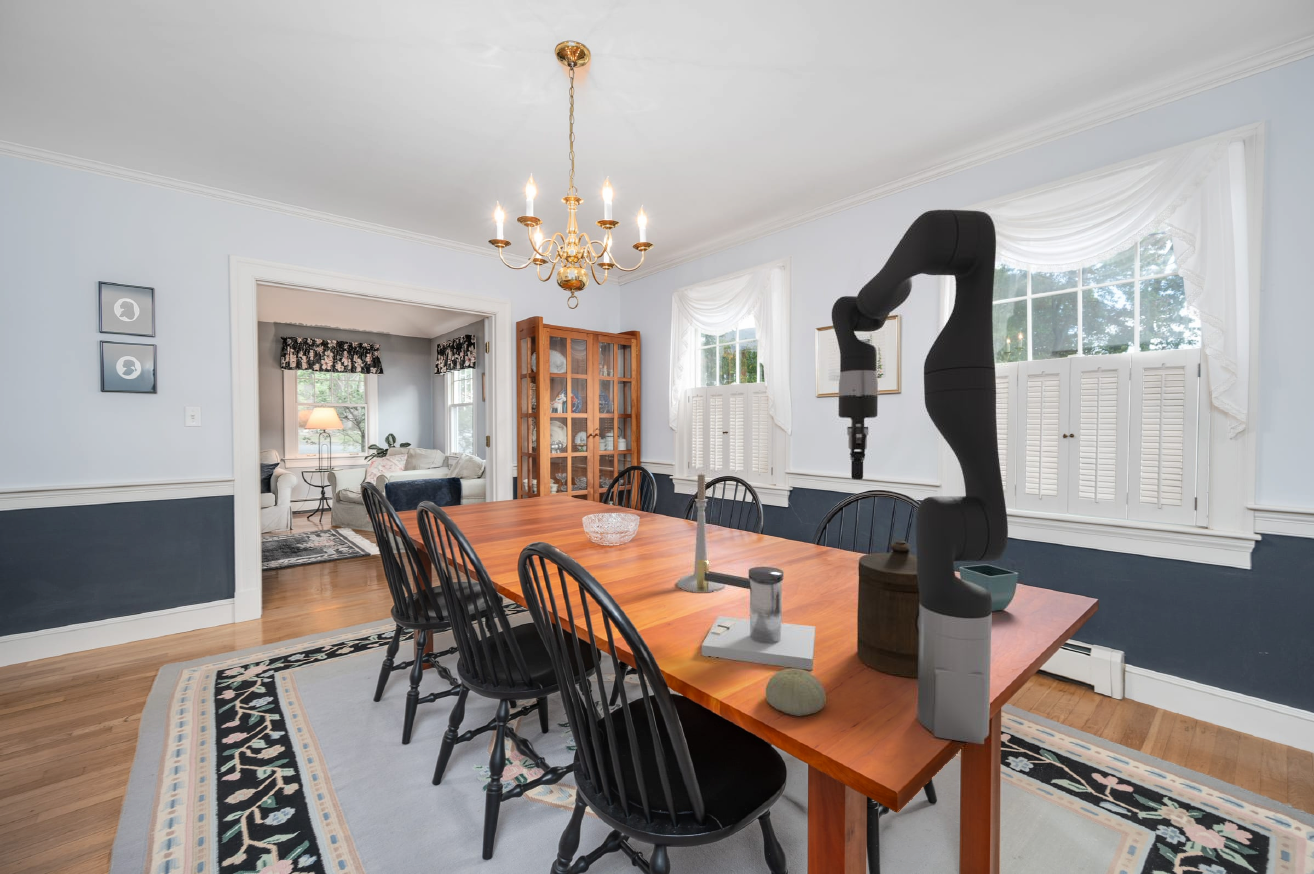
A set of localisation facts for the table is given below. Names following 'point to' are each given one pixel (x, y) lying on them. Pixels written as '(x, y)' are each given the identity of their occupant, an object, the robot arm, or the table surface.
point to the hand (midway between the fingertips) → (857, 479)
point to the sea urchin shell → (795, 692)
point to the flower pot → (992, 582)
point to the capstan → (753, 597)
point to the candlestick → (699, 543)
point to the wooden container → (889, 611)
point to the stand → (760, 644)
